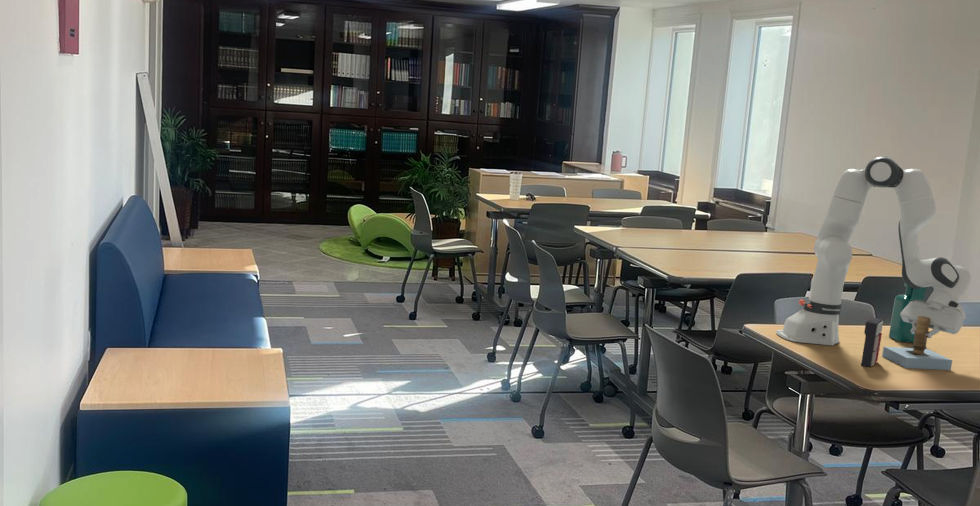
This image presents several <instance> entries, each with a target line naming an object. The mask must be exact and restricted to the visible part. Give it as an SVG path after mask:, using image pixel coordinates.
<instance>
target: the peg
mask: <svg viewBox="0 0 980 506" xmlns="http://www.w3.org/2000/svg"><path fill="white" fill-rule="evenodd" d="M929 324H930V318H928V317H924V316H918V318H917V324H916V330H915V336H914V343H912V348H914V349H913V355H918V356H923V355H924V350H925V349H927V342H928V338H927V337H926V336H925V334H926V333H927V331H929V329H930V328H929Z"/></svg>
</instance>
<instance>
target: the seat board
mask: <svg viewBox="0 0 980 506" xmlns="http://www.w3.org/2000/svg"><path fill="white" fill-rule="evenodd" d="M913 349H914V348H913V347H898V346H883V349H882V355H881V357H883V358H885V359H887V360H889V361H891V362H893V363H895V364H897V365H898V364H899V365H898V366H901V367H902V368H906V369H920V370H921V369H922V370H923V369H924V370H940V371H951V370H952V364H953V360H952V359H951V358H950V357H949V358H948V357H946V356H944V355H942V354H940V353H937V352H935V351H933V350H931V349H929V348H926V349H925V350H924V355H923V356H918V355H913Z"/></svg>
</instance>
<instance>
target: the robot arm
mask: <svg viewBox="0 0 980 506" xmlns="http://www.w3.org/2000/svg"><path fill="white" fill-rule="evenodd" d="M872 188H880V189H882V188H883V189H884V188H892V189H893V190H894V191H895V193H896V196H897V199H898V205H899V208H900V220H898V221H899V222H898V229H897V230H898V239H899V245H900V253H901V263H902V264H901V277H902V280H903V282H904V284H907V285H908V286H909V287H910V288H913V289H920V288H924V287H926V288H927V287H928V288H929V287H932V288H933V291H932V293H930V296H929V297H928V299H926V301H924V300H923V301H919V300H915V301H911V302H909V304H908V305H907V306H906V307H905V308H904V309H903V311H902V312H901V314H900V315H901V318H902V320H903V321H904V322H908V323H912V327H913V328H912V329H911V333H912V334H915V330H916V324H917V318H918V316H924V317H928V318H930V324H929V329H931V330H930V331H929V330H928V331H927V333H926V334H925V336H926V337H927V339H932V337H933V336H935V335H936V334H939V333H940V332H942V333H943V332H944V333H947V334H951V335H956V334H958V333H959V332H960V331H961V328H962V326H963V325H964V321H965V319H966V318H967V316H966V311H965V310H964V307H963V305H962V304H960V303H959V301H960V300H961V299H962V298H963V297H964V295H965V294H966V292H967V291H968V289H969V287H970V285H971V281H972V276H971V274H970V272H969V270H967V269H966V268H965V267H964V266H961V265H955V264H952V263H951V262H950V261H949V260H948V259H947V258H945V257H932V258H925V259H921V256H920V249H919V248H920V247H919V241H918V236H919V232H920V231H921V229H922V228H923V227H925V226H926V225H927V224H928V223H930V222H931V221H932V219H933V218H934V217H935V214H936V210H937V209H936V202H935V198H934V196H933V195H934V194H933V191H932V188H931V185H930V182H929V181H928V178H927V176H926V174H925V173H924V172H923V171H922V170H921V169H918V168H908V169H903V168H901V167H900V165H899V164H898V162H897V161H896V160H895V159H893V158H892V157H890V156H887V155H886V156H885V155H882V156H881V155H880V156H877V157H874V158H872V159H871V160H870V161H869V162H868V163H867V164H866V166H865V168H863V169H857V168H848V169H846V170H844V171H843V172H842V174H841V175H840V177H839V178H838V181H837V182H836V186H835V188H834V189H833V194H832V198H831V199H830V203H829V207H828V210H827V213H826V216H825V218H824V221H823V223H822V225H821V227H820V230H819V231H818V234H817V237H816V240H815V242H814V245H813V251H814V254H815V256H816V258H817V262H816V263H817V264H816V267H815V270H814V274H813V276H812V279H811V284H810V291H809V297H808V299H807V300H806V301H805V300H804V299H800V300H799V301H798V305H799V306H802V307H803V308H802V309H800V310H799V311H797V312H795V313H794V314H792V315H791V316H789V317H787V318H786V320H785V322H784V325H783V327H782V329H777V330H776V332H775V333H776V335H777V336H778V337H781V338H783V339H784V340H787V341H791V342H795V343H804V344H813V345H824V346H835V345H836V344H838V343H840V337H839V321H840V320H839V319H840V316H841V313H842V304H841V303H842V296H843V290H844V284H845V281H846V278H847V274H848V272H849V267H850V264H851V260H852V258H853V249H852V246H851V244H850V243H849V241H850V239H851V237H852V235H853V233H854V230H855V229H856V227H857V226H858V224H859V221H860V217H861V214H862V211H863V208H864V205H865V202H866V198H867V195H868V193H869V191H870V190H871V189H872Z"/></svg>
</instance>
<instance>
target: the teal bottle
mask: <svg viewBox="0 0 980 506" xmlns="http://www.w3.org/2000/svg"><path fill="white" fill-rule="evenodd" d="M904 287H905V288H906V289H905V293H903V294H898V295H896V296H895V298H894V303H893V309H892V315H891V320H890V327H889V334H888V337H889V338H891V339H892V340H894V341H896V342H899V341H900V343H911V344H913V343H914V336H915V334H912V333H911V329H912V328H913V327H912V323H908V322H904V321H903V320H902V318H901V315H900V314H901V312H902V311H903V309H904V308H905V307H906V306H907V305H908V304H909V302H911V301H915V300H919V301H923V302H924V298H925V295H926V290H927V287H924V288H920V289H913V288H910V287H909V286H908V285H907V284H906V283H904Z"/></svg>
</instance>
